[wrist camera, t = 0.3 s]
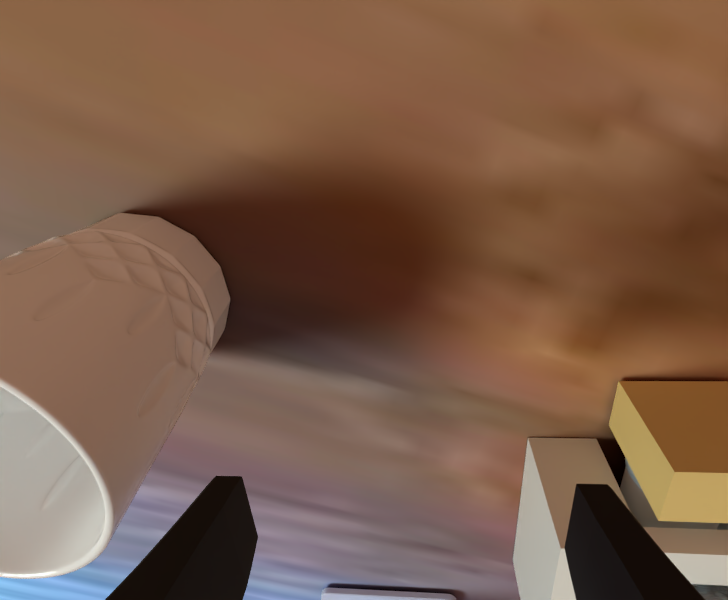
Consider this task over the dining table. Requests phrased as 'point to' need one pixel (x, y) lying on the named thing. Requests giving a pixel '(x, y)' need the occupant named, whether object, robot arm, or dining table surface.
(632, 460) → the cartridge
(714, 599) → the plunger
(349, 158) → the dining table surface
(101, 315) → the white cup
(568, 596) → the housing
